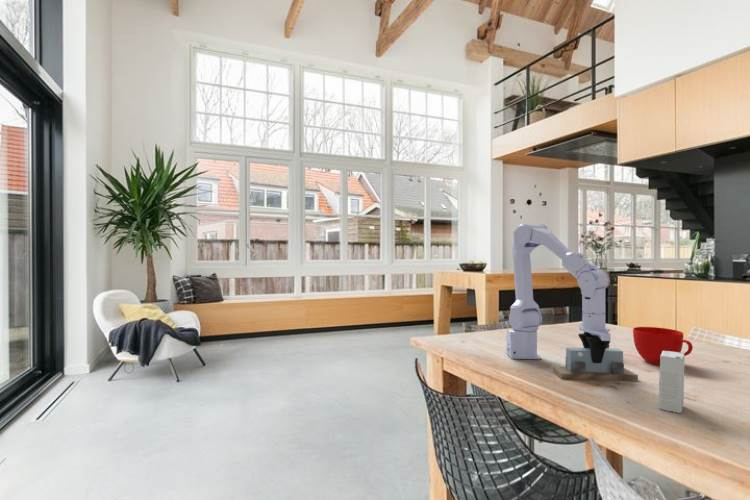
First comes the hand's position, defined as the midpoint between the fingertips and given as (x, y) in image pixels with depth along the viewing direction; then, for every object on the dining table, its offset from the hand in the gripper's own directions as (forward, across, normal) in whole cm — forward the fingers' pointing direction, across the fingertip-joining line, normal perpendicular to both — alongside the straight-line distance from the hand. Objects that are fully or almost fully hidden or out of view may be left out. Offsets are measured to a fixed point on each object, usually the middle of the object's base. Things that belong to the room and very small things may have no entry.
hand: (593, 361), depth 112 cm
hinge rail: (+4, 0, 0) cm, 4 cm away
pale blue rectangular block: (+3, 0, 0) cm, 3 cm away
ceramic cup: (+4, +14, -27) cm, 31 cm away
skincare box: (+4, -22, -7) cm, 24 cm away
